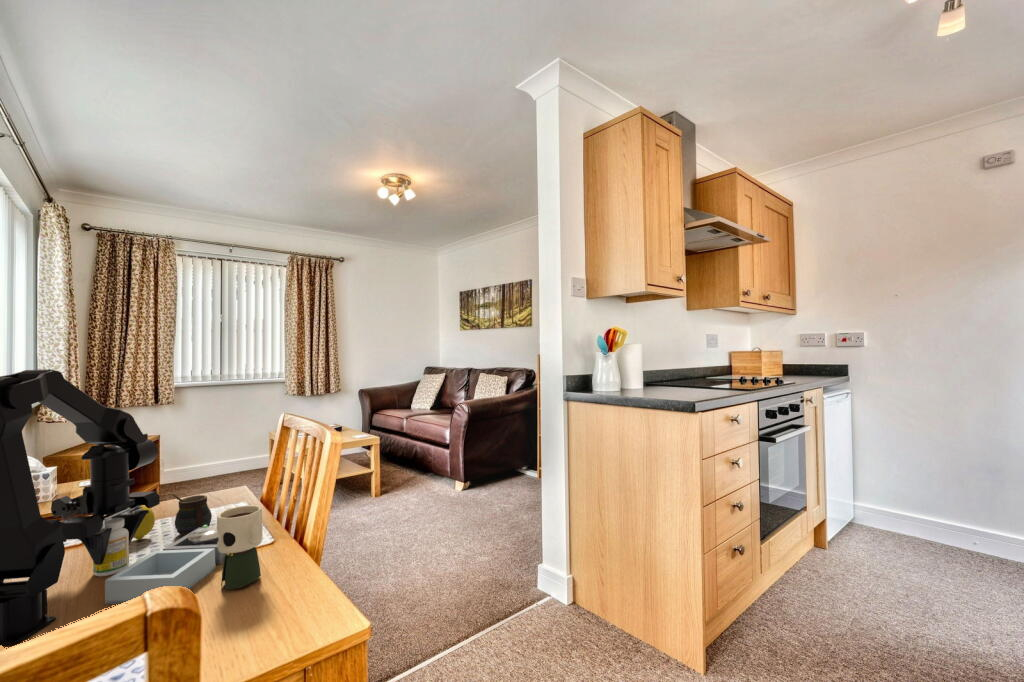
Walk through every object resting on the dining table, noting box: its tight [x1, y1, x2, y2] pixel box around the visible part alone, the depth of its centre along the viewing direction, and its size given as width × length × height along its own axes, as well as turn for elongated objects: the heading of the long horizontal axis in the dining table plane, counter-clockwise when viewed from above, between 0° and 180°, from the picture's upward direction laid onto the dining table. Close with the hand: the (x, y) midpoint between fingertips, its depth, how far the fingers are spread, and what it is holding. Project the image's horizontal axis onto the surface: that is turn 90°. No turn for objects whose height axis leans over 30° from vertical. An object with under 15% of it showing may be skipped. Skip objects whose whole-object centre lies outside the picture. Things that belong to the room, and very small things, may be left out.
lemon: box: [133, 505, 156, 541], centre depth 105 cm, size 6×6×8 cm
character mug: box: [216, 504, 264, 590], centre depth 84 cm, size 11×7×13 cm, turn 58°
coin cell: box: [188, 525, 218, 544], centre depth 97 cm, size 7×7×2 cm
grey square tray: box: [162, 525, 226, 566], centre depth 97 cm, size 11×11×4 cm
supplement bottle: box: [92, 518, 130, 577], centre depth 90 cm, size 5×5×10 cm
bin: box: [104, 548, 216, 605], centre depth 84 cm, size 11×11×4 cm
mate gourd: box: [172, 494, 213, 537], centre depth 108 cm, size 7×8×10 cm
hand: (111, 557), depth 90 cm, fingers closed on supplement bottle, 5 cm apart
